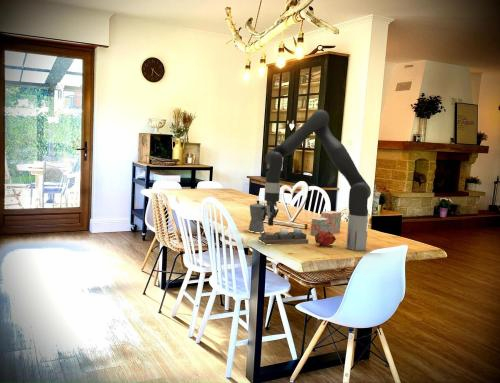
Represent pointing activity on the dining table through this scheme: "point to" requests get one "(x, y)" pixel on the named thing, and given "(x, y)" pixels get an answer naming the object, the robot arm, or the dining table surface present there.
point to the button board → (284, 238)
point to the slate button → (297, 231)
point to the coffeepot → (257, 217)
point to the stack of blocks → (326, 222)
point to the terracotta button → (269, 233)
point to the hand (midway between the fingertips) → (270, 225)
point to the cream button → (283, 231)
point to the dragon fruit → (324, 238)
